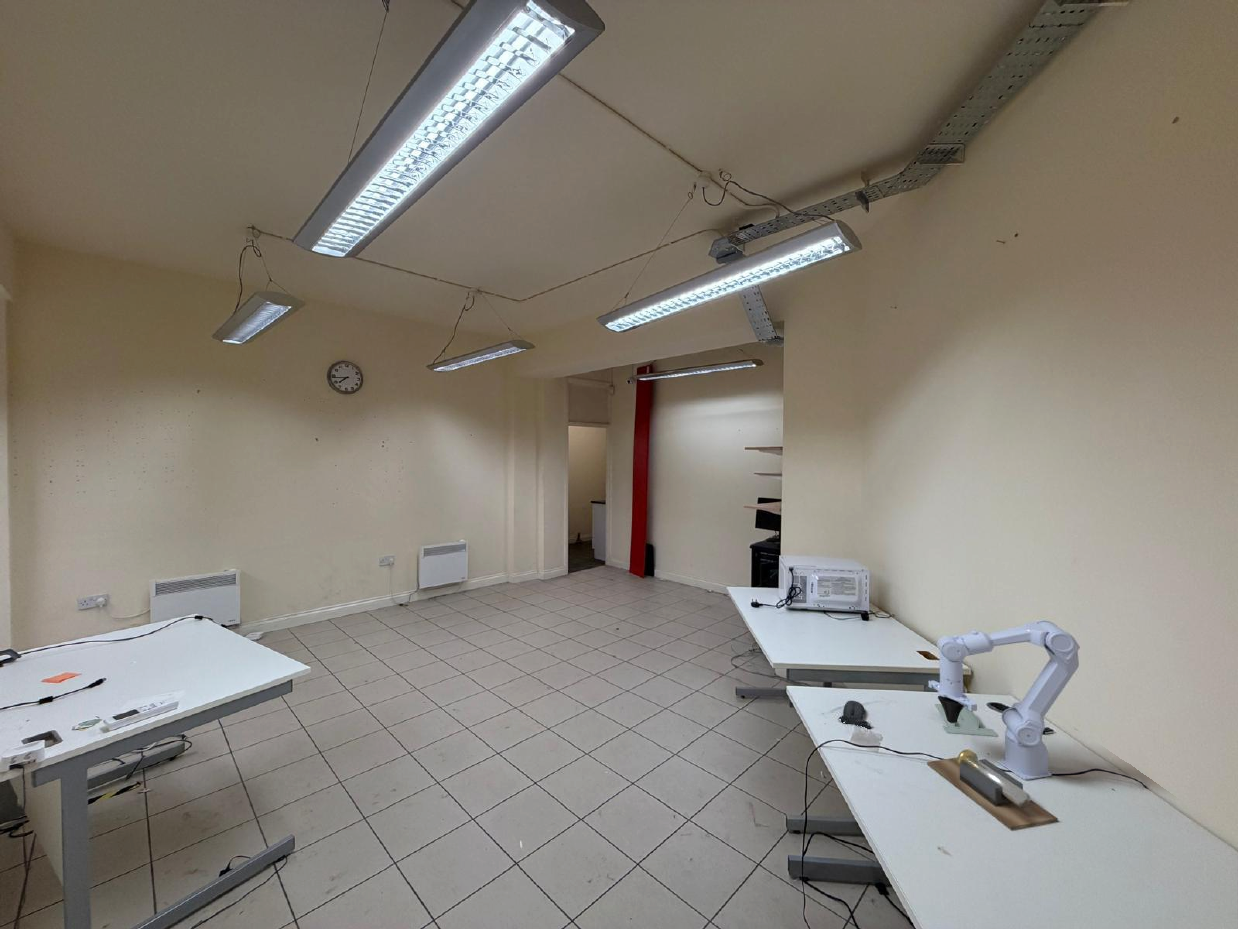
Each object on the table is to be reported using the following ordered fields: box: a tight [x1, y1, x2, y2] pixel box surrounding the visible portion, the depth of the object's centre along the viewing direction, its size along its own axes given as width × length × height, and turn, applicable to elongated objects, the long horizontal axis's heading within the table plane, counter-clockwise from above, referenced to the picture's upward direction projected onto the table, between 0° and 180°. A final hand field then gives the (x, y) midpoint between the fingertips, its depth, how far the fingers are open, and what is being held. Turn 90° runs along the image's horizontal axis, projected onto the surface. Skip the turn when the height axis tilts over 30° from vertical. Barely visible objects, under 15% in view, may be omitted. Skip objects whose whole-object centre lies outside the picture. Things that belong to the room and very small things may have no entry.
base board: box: [926, 756, 1059, 831], centre depth 121 cm, size 14×24×1 cm, turn 10°
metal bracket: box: [934, 703, 999, 738], centre depth 151 cm, size 14×6×15 cm
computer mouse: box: [838, 700, 872, 730], centre depth 157 cm, size 10×15×4 cm
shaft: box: [956, 749, 1031, 808], centre depth 119 cm, size 6×16×6 cm, turn 10°
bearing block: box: [959, 758, 1024, 807], centre depth 120 cm, size 9×10×5 cm
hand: (952, 721), depth 135 cm, fingers closed
